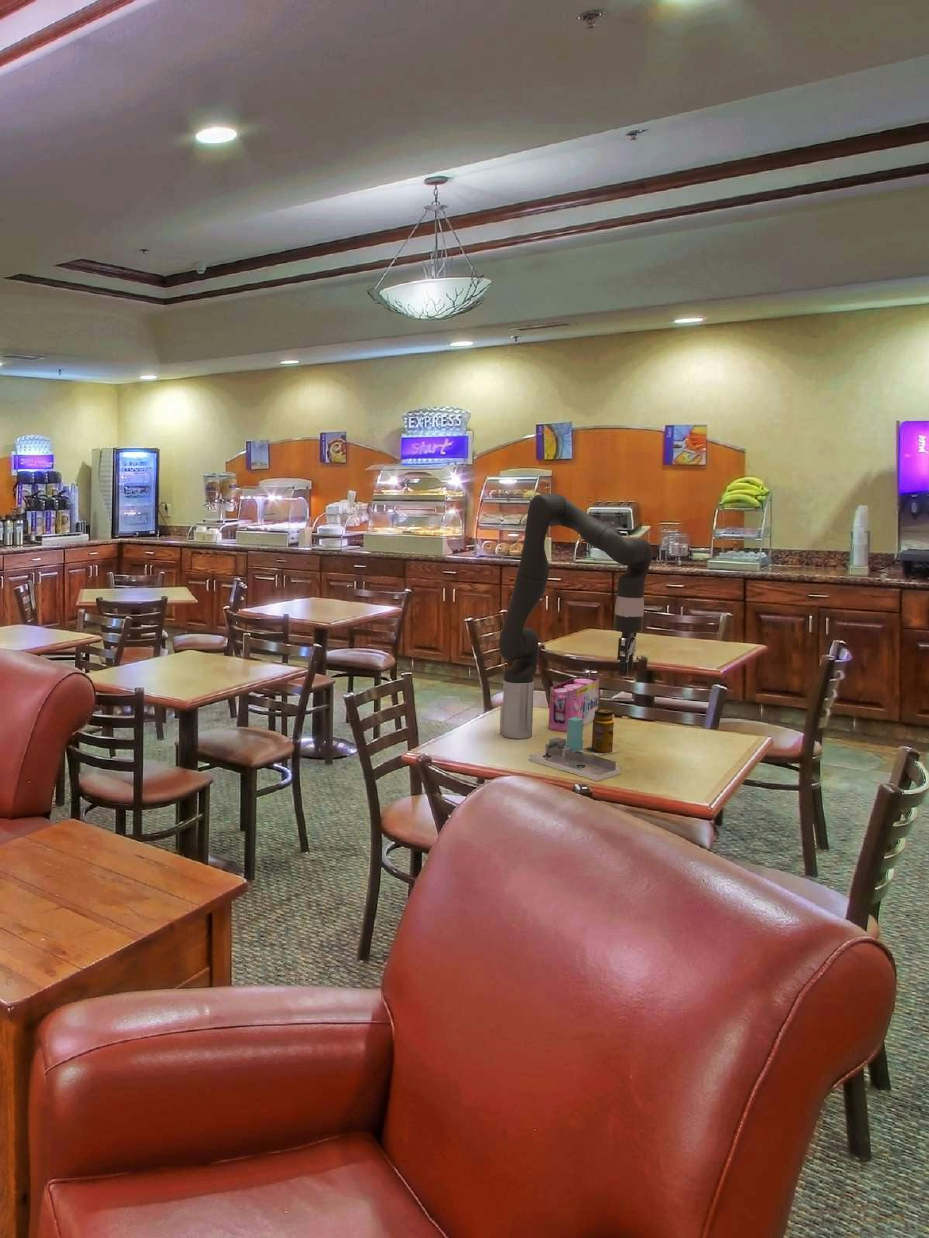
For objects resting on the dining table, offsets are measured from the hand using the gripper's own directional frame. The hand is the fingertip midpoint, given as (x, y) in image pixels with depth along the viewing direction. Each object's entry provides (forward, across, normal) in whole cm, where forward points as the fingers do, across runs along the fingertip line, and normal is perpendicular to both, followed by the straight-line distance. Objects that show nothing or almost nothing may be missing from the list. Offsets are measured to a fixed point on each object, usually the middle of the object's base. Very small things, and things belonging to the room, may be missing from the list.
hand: (625, 672), depth 240 cm
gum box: (+28, -40, -22) cm, 54 cm away
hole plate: (+26, +6, -12) cm, 30 cm away
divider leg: (+25, +4, -13) cm, 28 cm away
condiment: (+27, -12, -8) cm, 31 cm away
